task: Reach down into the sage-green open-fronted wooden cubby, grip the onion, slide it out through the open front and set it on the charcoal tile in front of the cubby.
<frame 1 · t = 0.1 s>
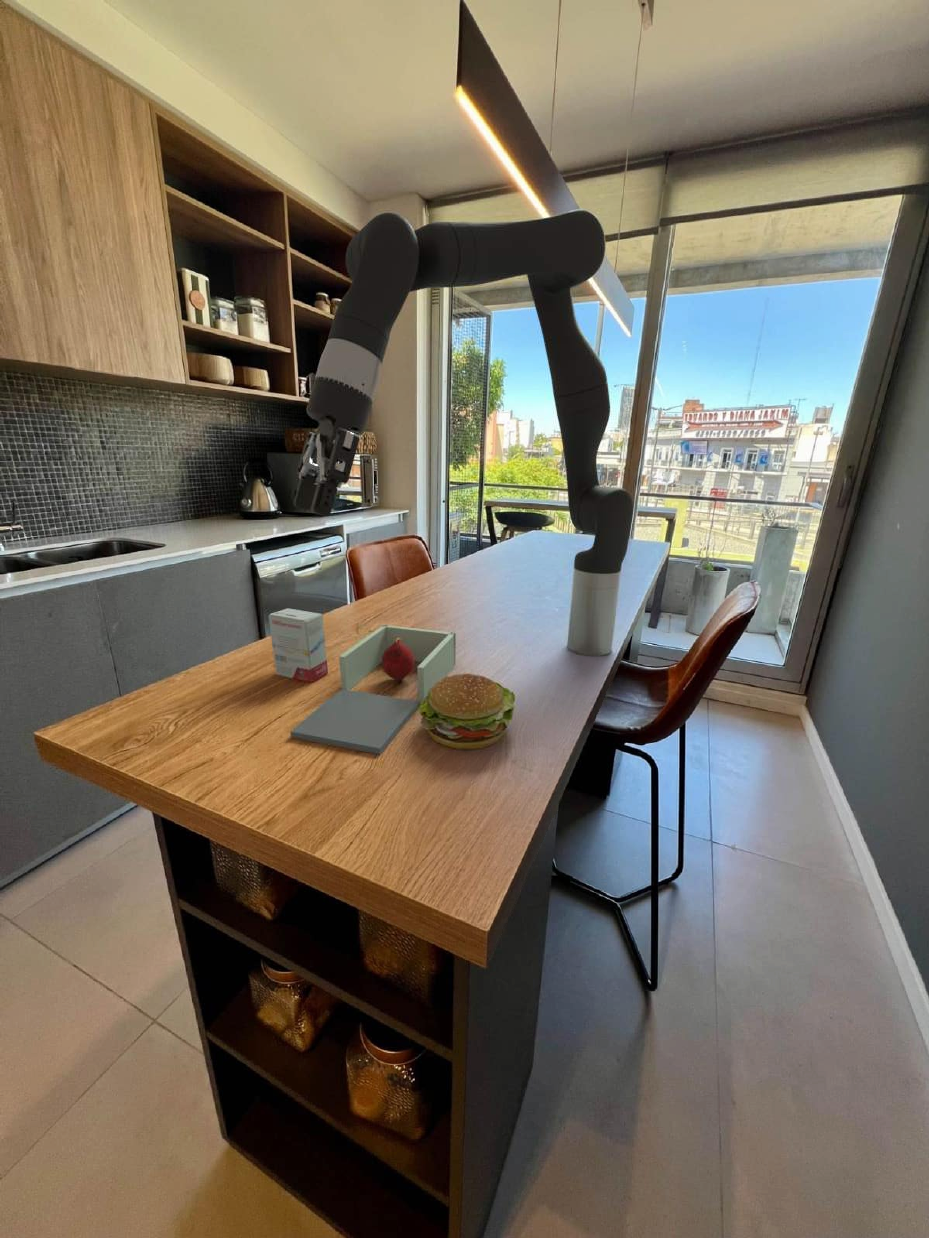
hand: (310, 511, 64), 31 cm above the table, tool tilted 20°, fingers open, 8 cm apart
tile: (358, 721, 74), on the table
ink box: (302, 675, 90), on the table
onion: (398, 681, 88), on the table
cubby: (401, 678, 89), on the table
food: (469, 731, 72), on the table
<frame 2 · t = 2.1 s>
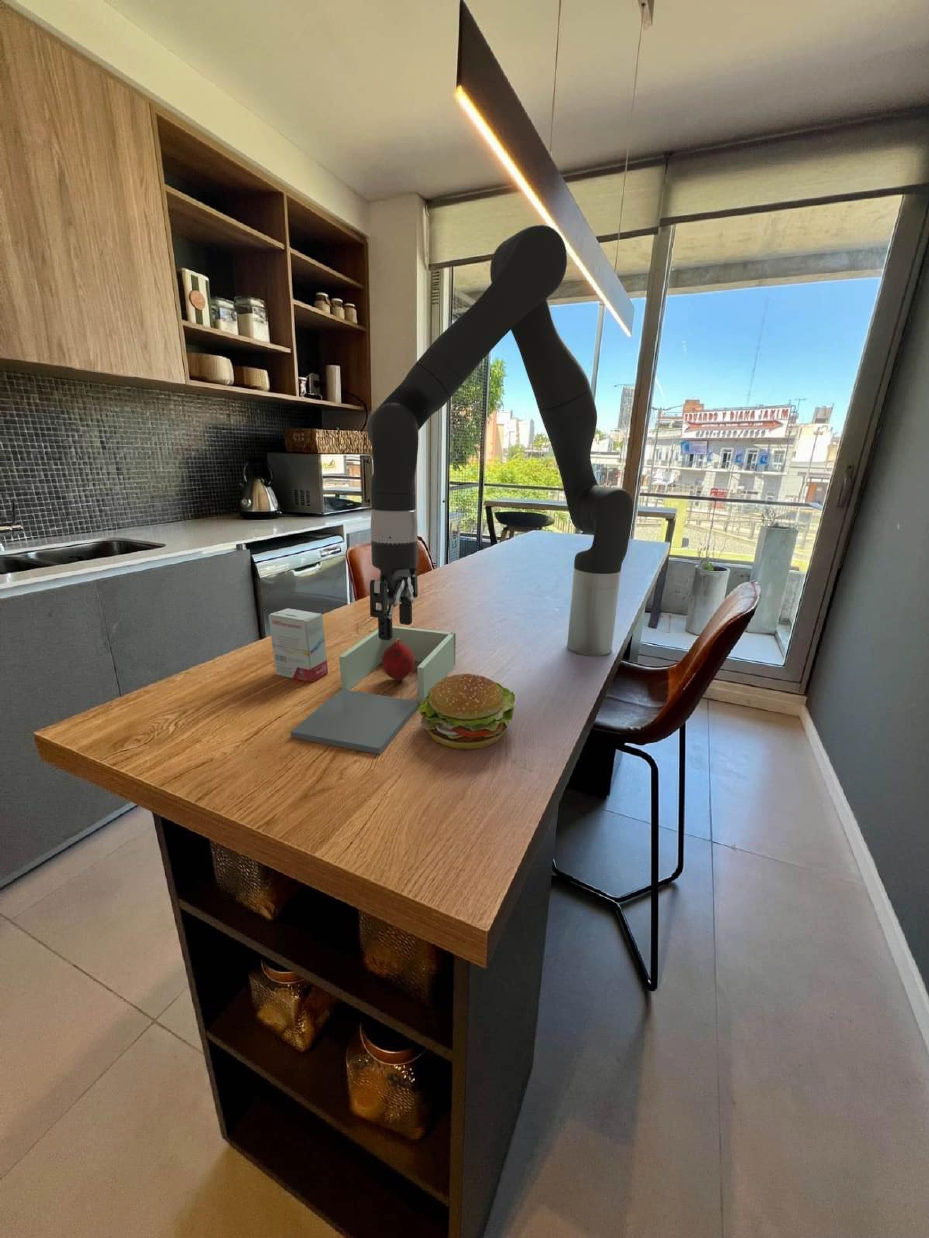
hand: (396, 631, 85), 10 cm above the table, tool pointing down, fingers open, 8 cm apart
nothing on the table moved.
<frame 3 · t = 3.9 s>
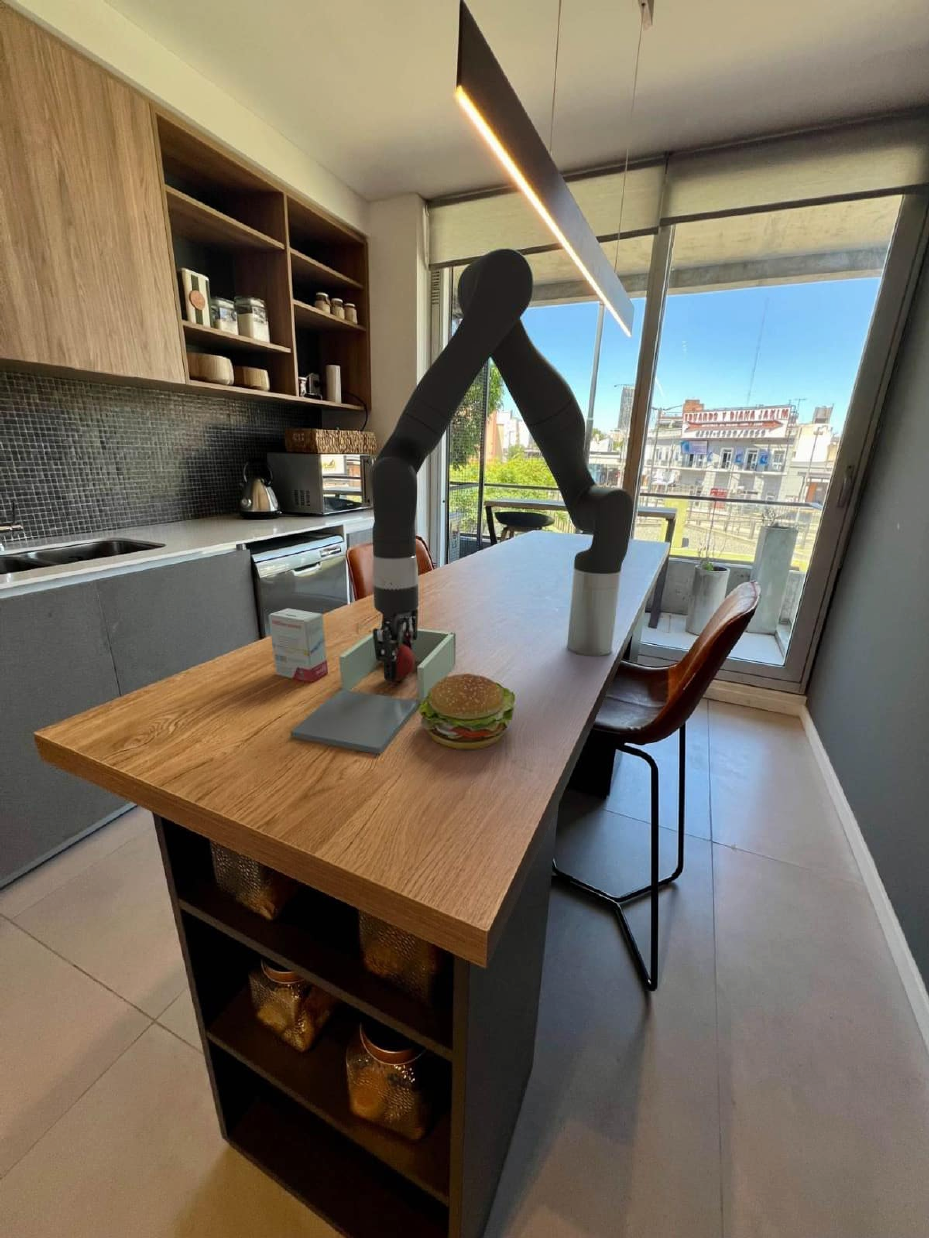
hand: (398, 672, 87), 2 cm above the table, tool pointing down, fingers closed on onion, 6 cm apart
onion: (398, 681, 88), on the table, touching gripper
everything else where it was.
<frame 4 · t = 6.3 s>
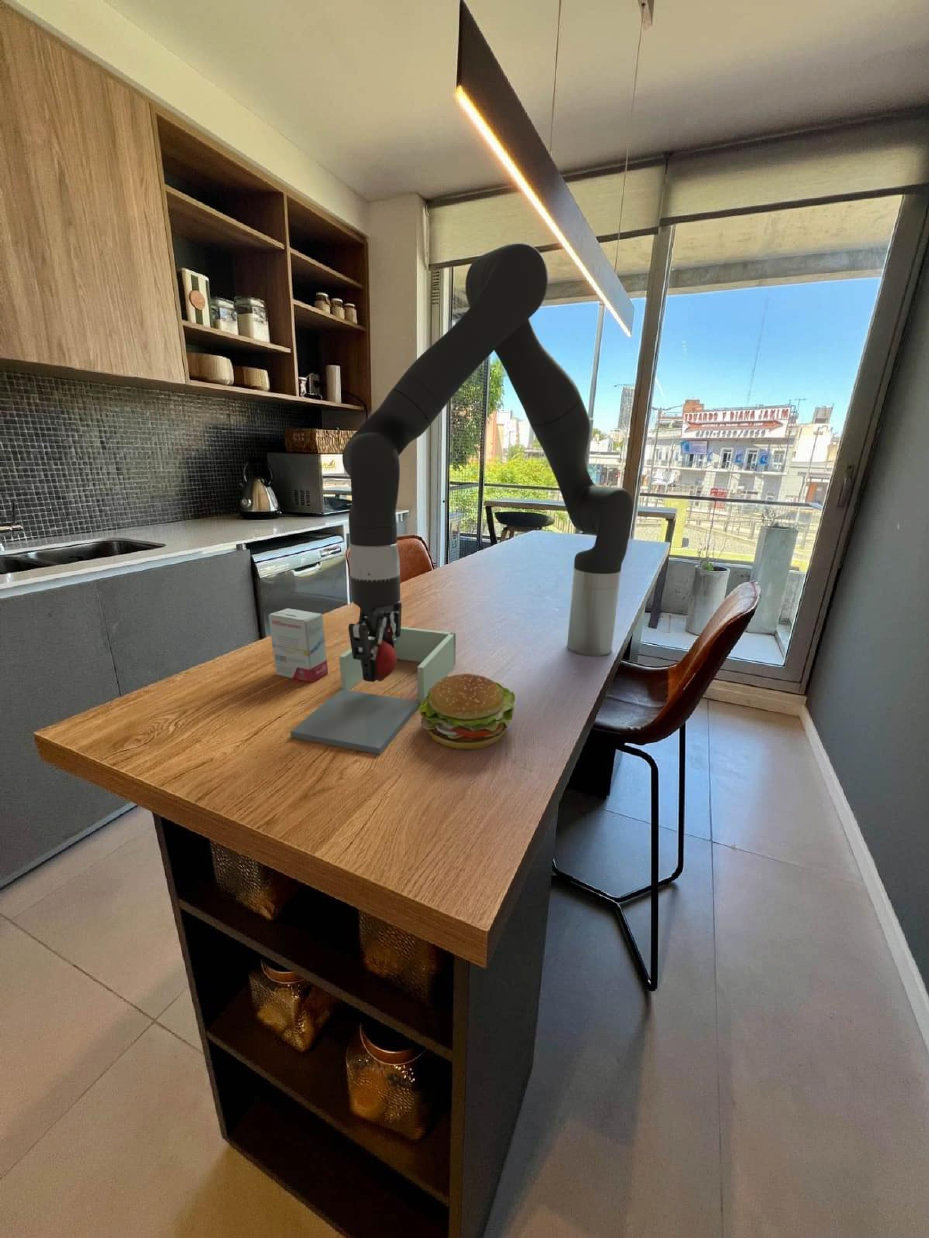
hand: (379, 672, 80), 5 cm above the table, tool pointing down, fingers closed on onion, 6 cm apart
onion: (379, 681, 81), point 3 cm above the table, touching gripper
everything else where it was.
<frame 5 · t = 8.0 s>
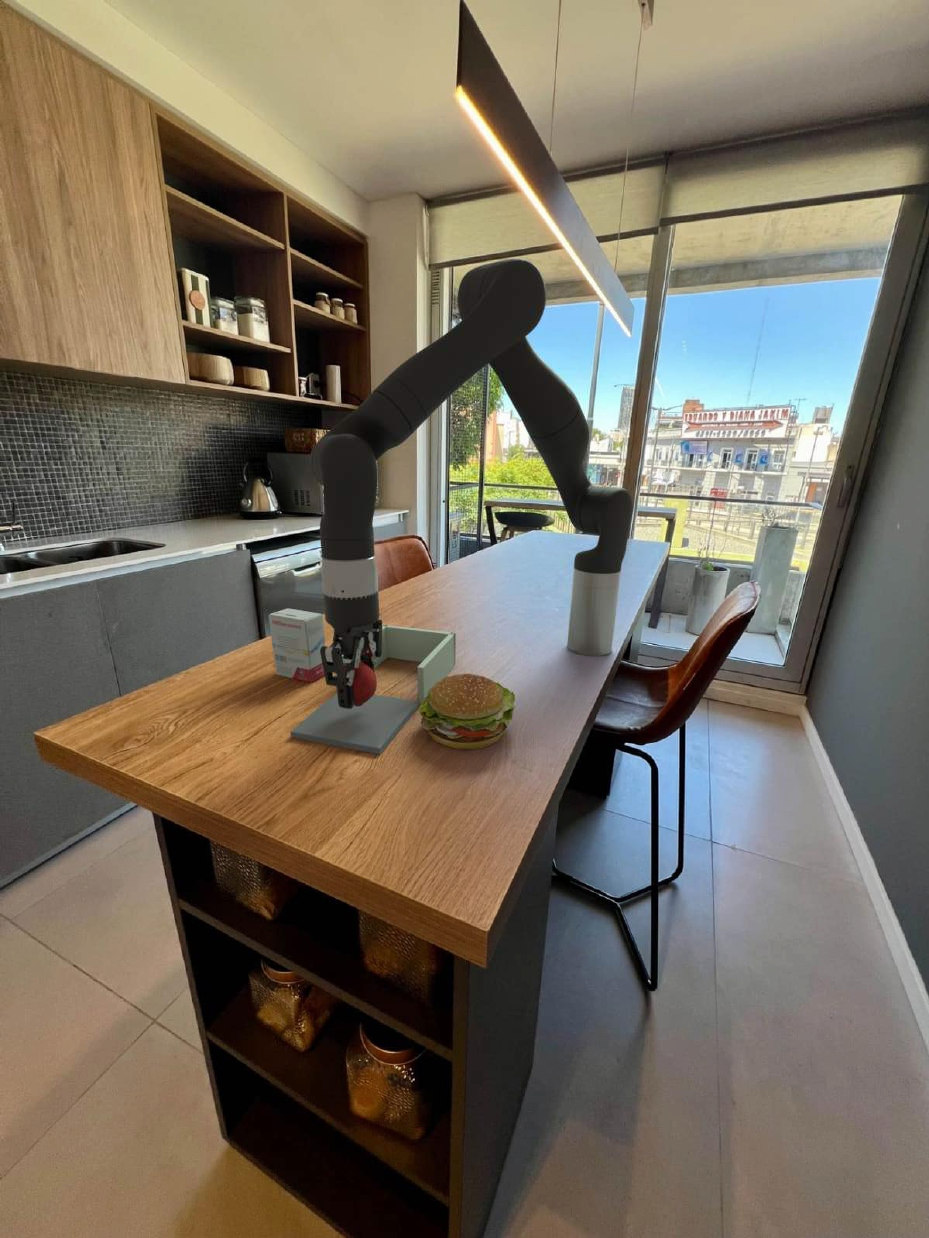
hand: (357, 696, 73), 4 cm above the table, tool pointing down, fingers closed on onion, 6 cm apart
onion: (358, 707, 73), point 2 cm above the table, touching gripper
everything else where it was.
when the fingers open (3 cm above the table, at t = 9.1 s): onion stays where it is, resting on tile.
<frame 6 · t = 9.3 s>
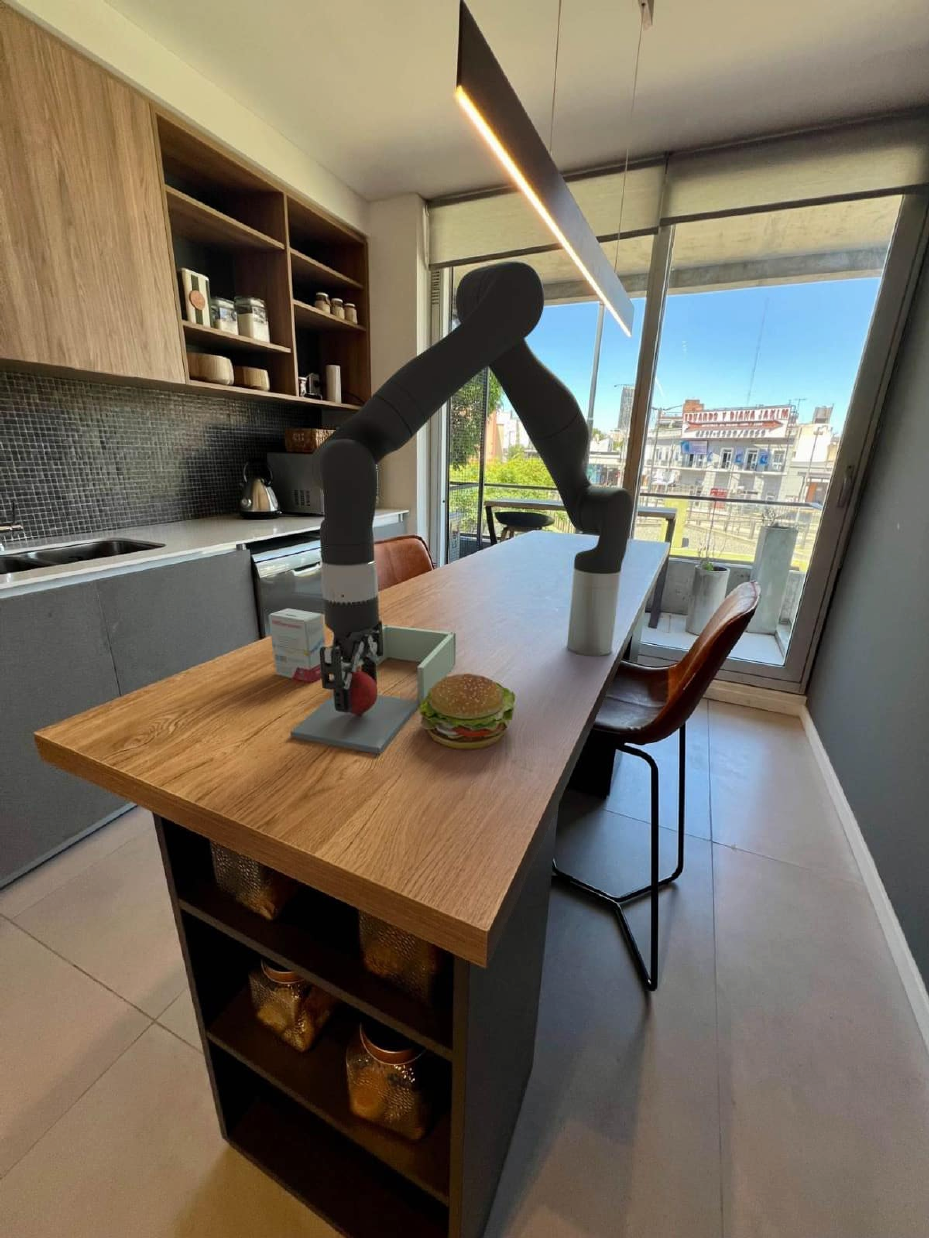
hand: (357, 698, 73), 4 cm above the table, tool pointing down, fingers open, 7 cm apart
onion: (359, 716, 74), point 1 cm above the table, touching tile
everything else where it was.
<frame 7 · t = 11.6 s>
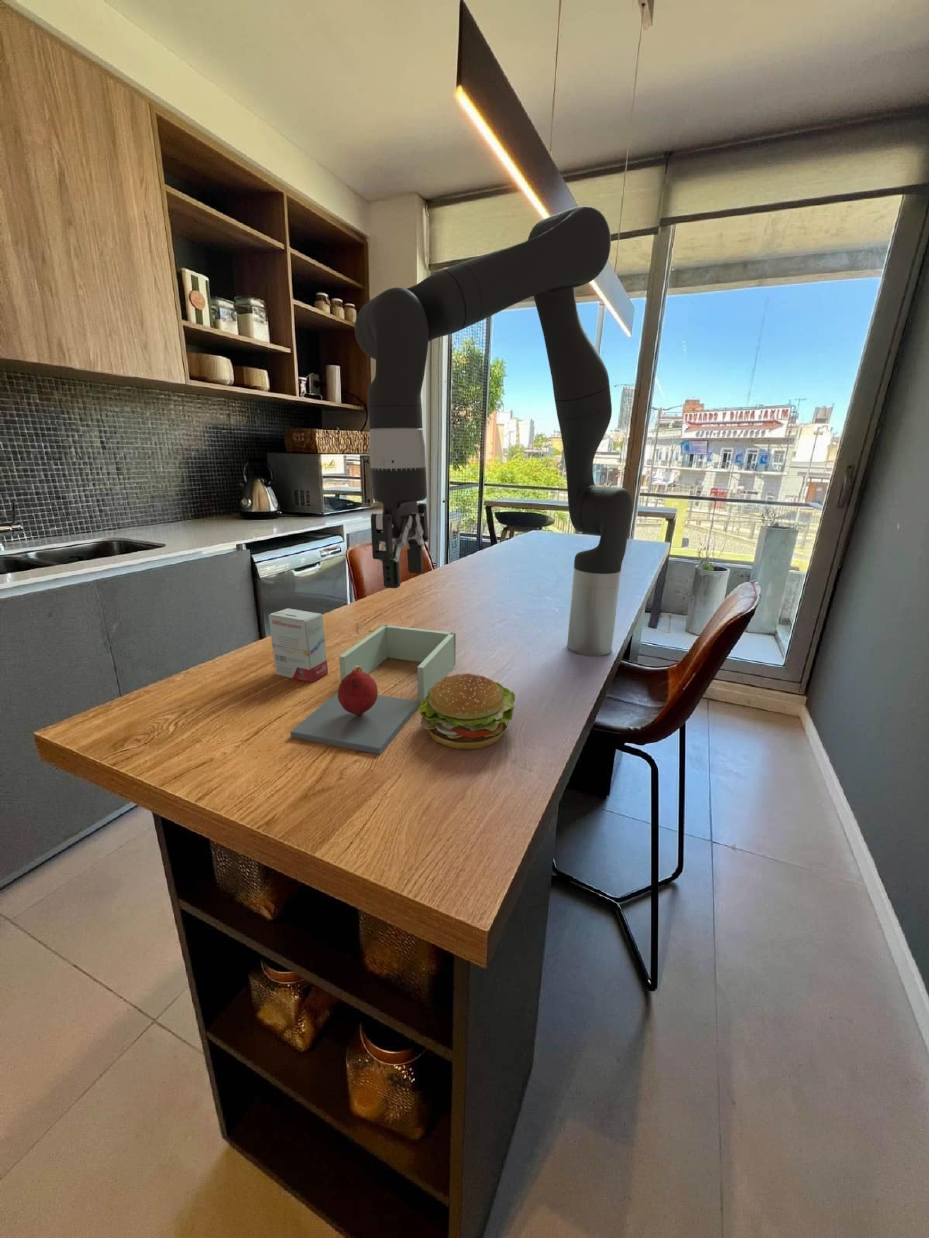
hand: (404, 579, 72), 21 cm above the table, tool pointing down, fingers open, 8 cm apart
nothing on the table moved.
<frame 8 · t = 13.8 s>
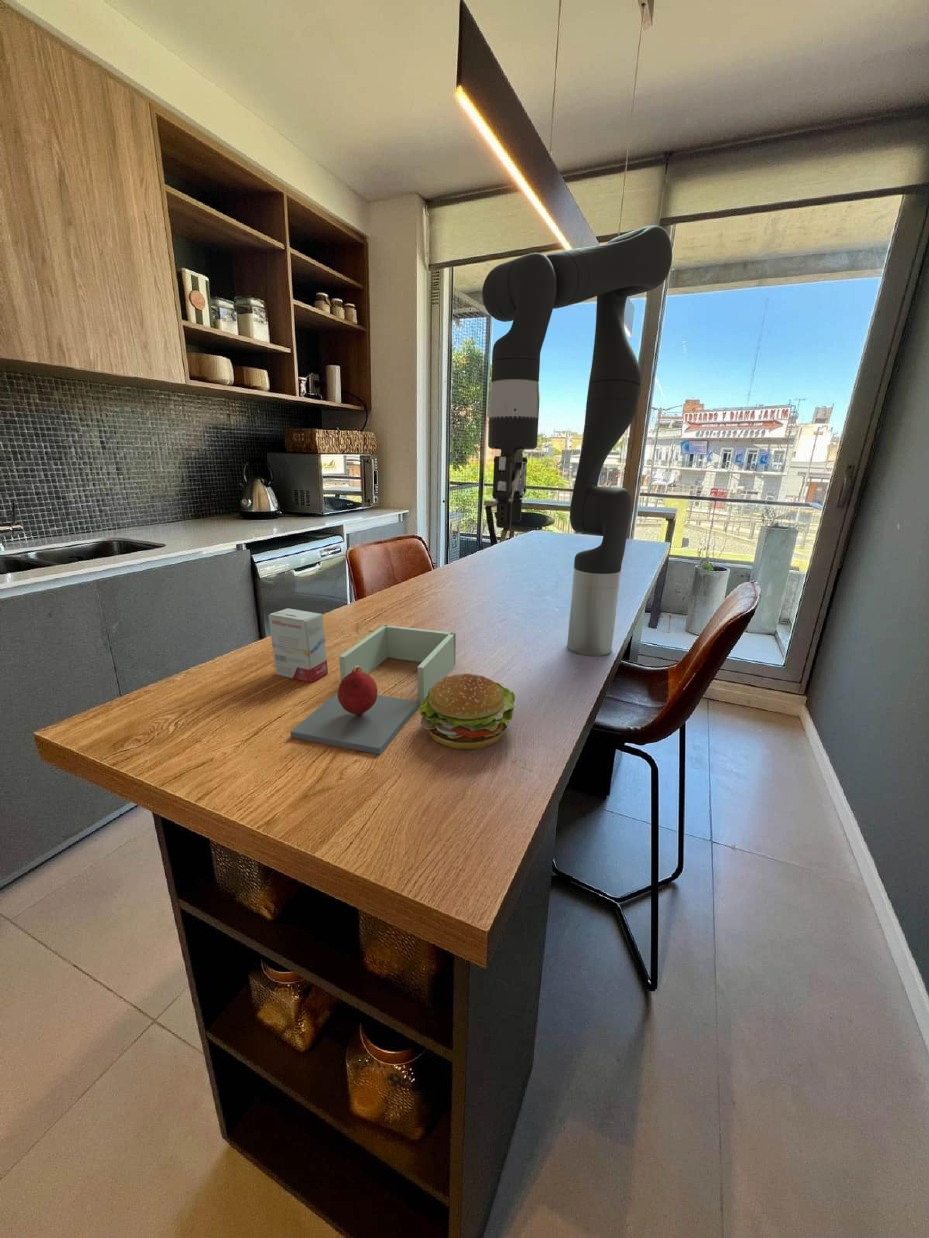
hand: (509, 524, 79), 28 cm above the table, tool pointing down, fingers open, 8 cm apart
nothing on the table moved.
at the end: onion inside the target area on the tile (0.1 cm from its centre), point 0.8 cm above the tile's base; the gripper is holding nothing; onion moved 14.9 cm from its start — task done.
